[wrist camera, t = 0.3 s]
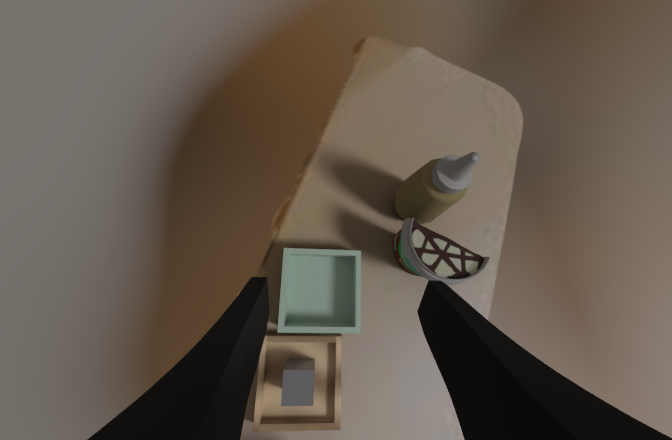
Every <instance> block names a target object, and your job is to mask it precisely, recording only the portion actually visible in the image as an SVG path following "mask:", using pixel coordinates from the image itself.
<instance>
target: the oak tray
mask: <svg viewBox="0 0 672 440" xmlns="http://www.w3.org/2000/svg"><path fill="white" fill-rule="evenodd" d="M341 352H342V336H341V334H294V333H266V335H265V338H264V342H263V346H262V349H261V353H260V358H259V369H258V380H257V391H256V402H255V413H254V423H253V432H256V431H305V430H340V411H341ZM287 359H315V375H314V400H313V406H281V398H282V384H283V370H284V367H285V364H286V362H287Z"/></svg>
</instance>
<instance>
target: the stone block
mask: <svg viewBox="0 0 672 440" xmlns="http://www.w3.org/2000/svg"><path fill="white" fill-rule="evenodd" d="M314 375H315V359H287V362H286V364H285V367H284V370H283V384H282V398H281V406H313V400H314Z"/></svg>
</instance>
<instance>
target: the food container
mask: <svg viewBox="0 0 672 440" xmlns="http://www.w3.org/2000/svg"><path fill="white" fill-rule="evenodd" d="M413 219H414V217H413V218H407V219H404V222H403V225H402V229H401V230H400V231H399V232H398V233H397V234H396V235H395V238H394V245H393V250H394V254H395V258H396V260H397V262H398V263H399V265H400V266H401V267H402V268H403V269H404V270H405V271H407V272H408V273H410V274H412V275H416V276H422V277H425V278H426V279H428V280H435V281H443V282H444V283H445V284H446V285H452V284H458V283H462V282H464V281H467V280H469V279H471V278H473V277H475V276H476V275H478V274H479V273H480V272H481V271H482V270H483V269H484V268H485V266H486V265H487V263H488V261H489V259H490V257H482V256H480V255H478V254H475V253H473V252H471V251H470V250H468V249H466V248H464V247H462V246H460V245H459V244H457V243H456V242H454V241H452V240H450V239H449V238H446V237H444V236H442V235H440V234H438V233H435V232H433V231H431V230H429V229H427V228H425V227H423V226H421V225H419V224H418V223H416V222H414V221H413Z"/></svg>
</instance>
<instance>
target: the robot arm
mask: <svg viewBox="0 0 672 440" xmlns="http://www.w3.org/2000/svg"><path fill="white" fill-rule="evenodd" d="M417 312H418V315H419V319H420V322H421V326H422V329H423V332H424V335H425V338H426V340H427V342H428V345H429V347H430V349H431V352H432V354H433V356H434V359H435V361H436V363H437V366H438V368H439V370H440V372H441V375H442V377H443V379H444V382H445V384H446V386H447V389H448V391H449V394H450V397H451V399H452V402H453V405H454V408H455V411H456V414H457V417H458V420H459V423H460V426H461V429H462V432H463V436H464V439H465V440H672V438H670V437H668V436H666V435H664V434H662V433H660V432H658V431H657V430H655V429H653V428H651V427H649V426H647V425H645V424H643V423H642V422H640V421H638V420H636V419H634V418H632V417H631V416H629V415H627V414H625V413H624V412H622V411H620V410H618V409H617V408H615V407H613V406H612V405H610V404H608V403H606V402H604V401H603V400H601V399H599V398H598V397H596V396H594V395H593V394H591V393H589V392H588V391H586V390H584V389H583V388H581V387H580V386H578V385H577V384H575V383H574V382H572V381H570V380H569V379H567V378H565V377H564V376H562V375H561V374H559V373H557V372H556V371H555V370H553V369H552V368H550V367H549V366H547V365H546V364H544V363H543V362H542V361H540V360H539V359H537V358H536V357H535V356H533V355H531V354H530V353H529V352H528V351H526V350H525V349H523V348H522V347H521V346H519V345H518V344H517V343H515V342H514V341H513V340H511V339H510V338H509V337H508V336H506V335H505V334H504V333H503V332H501V331H500V330H499V329H498V328H496V327H495V326H494V325H493V324H491V323H490V322H489V321H488V320H487V319H485V318H484V317H483V316H482V315H481V314H480V313H478V312H477V311H476V310H475V309H474V308H473V307H471V306H470V305H469V304H468V303H467V302H466V301H465V300H463V299H462V298H461V297H460V296H459V295H458V294H457V293H456V292H454V291H453V290H452V289H451V288H450V287H449V286H447V285H446V284H445V283H444V282H443V281H435V280H429V281H428V284H427V286H426V289H425V292H424V295H423V297H422V300H421V303H420V306H419V309H418V311H417ZM268 317H269V298H268V284H267V277H252V278H251V279H250V280H249V281H248V282H247V284H246V285H245V287H244V288H243V289H242V291H241V292H240V294H239V295H238V296H237V297H236V299H235V300H234V301H233V303H232V304H231V305H230V306H229V308H228V309H227V310H226V311H225V312H224V314H223V315H222V316H221V317H220V319H219V320H218V321H217V322H216V323H215V324H214V325H213V326H212V328H211V329H210V330H209V331H208V332H207V333H206V334H205V335H204V337H203V338H202V339H201V340H200V341H199V342H198V343H197V344H196V345H195V346H194V347H193V348H192V349H191V350H190V351H189V352H188V353H187V354H186V355H185V356H184V357H183V358H182V359H181V360H180V361H179V362H178V363H177V364H176V365H175V366H174V367H173V368H172V369H171V370H170V371H168V372H167V373H166V374H165V375H164V376H163V377H162V378H161V379H160V380H159V381H158V382H157V383H155V384H154V385H153V386H152V387H151V388H150V389H149V390H148V391H146V392H145V393H144V394H143V395H142V396H141V397H139V398H138V399H137V400H136V401H135V402H133V403H132V404H131V405H130V406H128V407H127V408H126V409H125V410H124V411H122V412H121V413H120V414H119V415H117V416H116V417H115V418H114V419H113V420H111V421H110V422H109V423H108V424H107V425H105V426H104V427H103V428H102V429H100V430H99V431H98V432H97V433H95V434H94V435H93V436H91V437H90V438H89V439H88V440H240V437H241V431H242V426H243V421H244V416H245V410H246V405H247V401H248V397H249V393H250V389H251V385H252V382H253V378H254V375H255V371H256V367H257V364H258V360H259V357H260V353H261V349H262V346H263V342H264V338H265V335H266V329H267V323H268Z"/></svg>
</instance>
